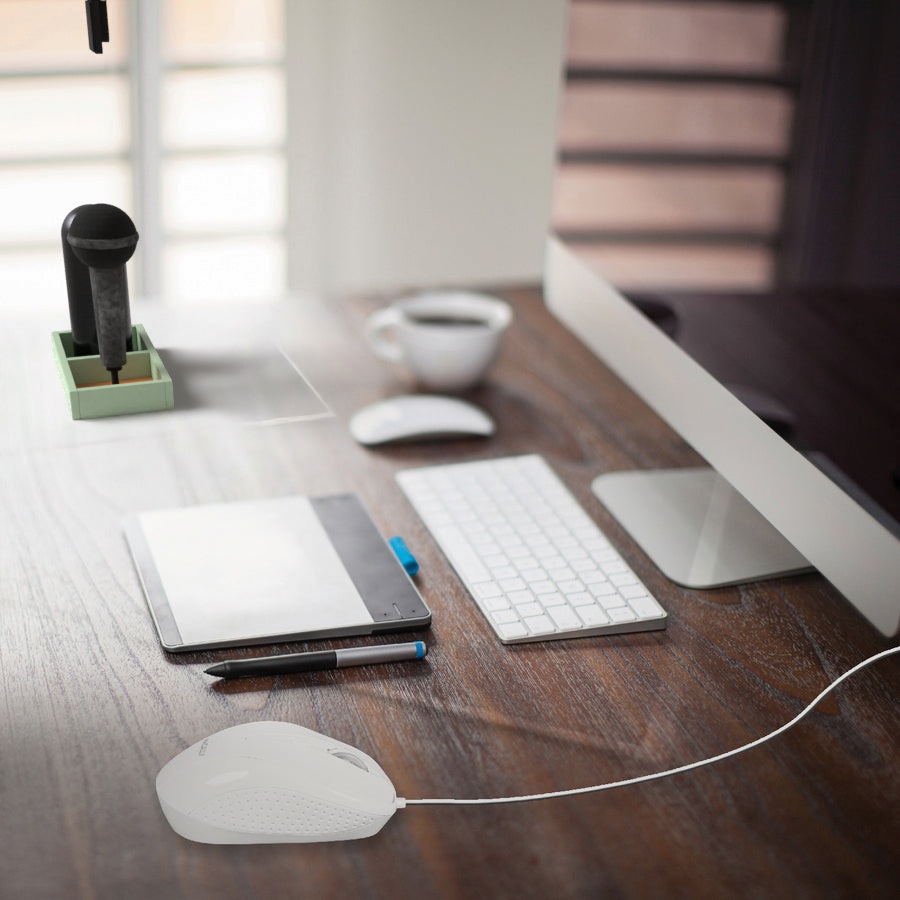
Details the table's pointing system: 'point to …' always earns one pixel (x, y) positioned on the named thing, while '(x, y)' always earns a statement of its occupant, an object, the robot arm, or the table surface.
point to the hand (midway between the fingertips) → (34, 52)
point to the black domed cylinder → (86, 298)
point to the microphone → (106, 274)
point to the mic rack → (91, 382)
